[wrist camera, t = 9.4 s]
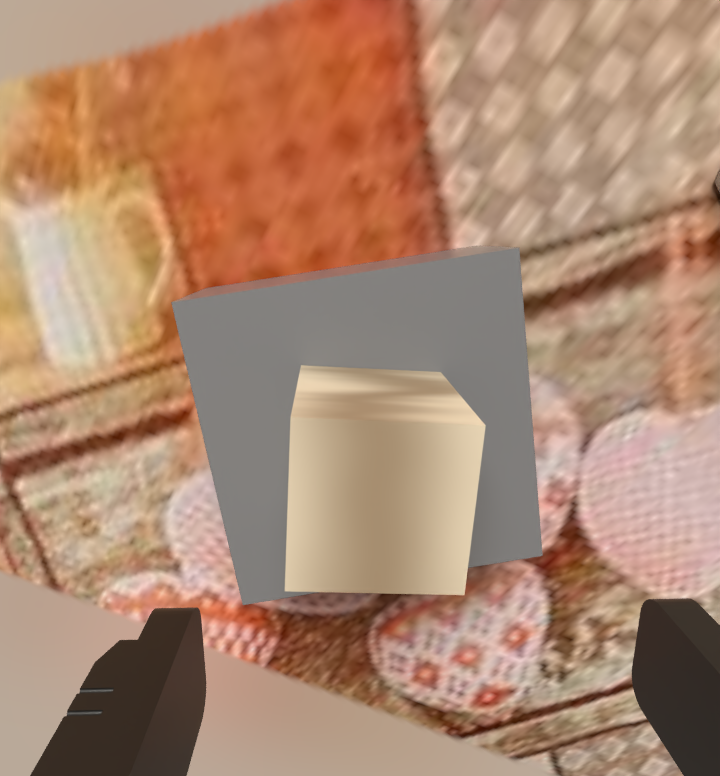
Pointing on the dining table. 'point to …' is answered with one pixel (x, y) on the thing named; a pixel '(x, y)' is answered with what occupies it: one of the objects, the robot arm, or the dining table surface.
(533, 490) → the grey box
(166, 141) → the dining table surface
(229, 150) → the dining table surface
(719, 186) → the flask
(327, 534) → the birch block
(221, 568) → the dining table surface
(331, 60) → the dining table surface
